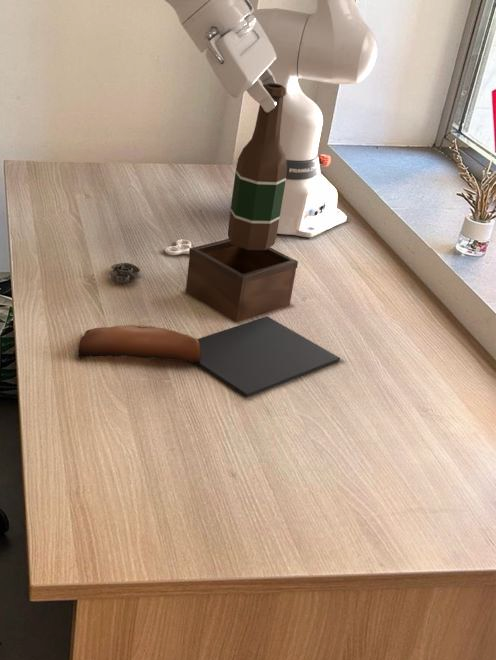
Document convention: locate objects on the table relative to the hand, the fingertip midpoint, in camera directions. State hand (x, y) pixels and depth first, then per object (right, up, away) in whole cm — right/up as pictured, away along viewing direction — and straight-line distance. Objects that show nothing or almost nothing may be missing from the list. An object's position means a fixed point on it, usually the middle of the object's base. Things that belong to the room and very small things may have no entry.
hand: (275, 104), depth 139 cm
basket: (-4, -25, +22) cm, 34 cm away
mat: (-2, -36, +6) cm, 37 cm away
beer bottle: (-3, -18, +12) cm, 22 cm away
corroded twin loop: (-24, -21, +25) cm, 40 cm away
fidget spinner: (-13, -14, +36) cm, 41 cm away
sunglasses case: (-20, -36, +3) cm, 41 cm away
